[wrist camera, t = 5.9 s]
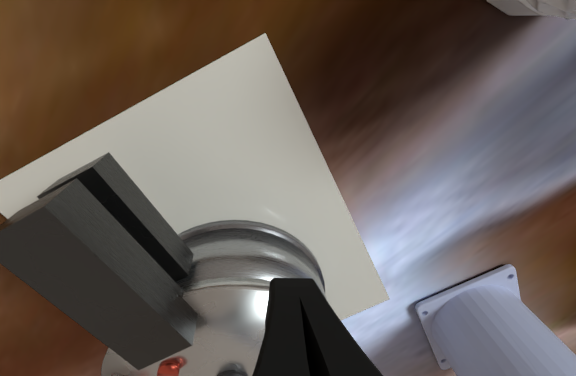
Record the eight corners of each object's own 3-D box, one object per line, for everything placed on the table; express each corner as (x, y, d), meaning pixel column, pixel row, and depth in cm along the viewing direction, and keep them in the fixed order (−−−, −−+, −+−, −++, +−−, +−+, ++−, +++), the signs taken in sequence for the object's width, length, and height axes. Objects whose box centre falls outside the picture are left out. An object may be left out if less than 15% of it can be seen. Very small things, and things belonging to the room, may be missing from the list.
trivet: (387, 294, 24) (389, 299, 24) (196, 377, 26) (195, 383, 25) (264, 33, 15) (265, 33, 15) (-16, 188, 17) (-23, 192, 16)
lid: (386, 396, 20) (402, 439, 18) (218, 465, 22) (215, 513, 19) (199, 108, 11) (188, 126, 9) (-77, 262, 12) (-145, 311, 10)
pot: (360, 335, 25) (383, 397, 21) (225, 393, 26) (221, 462, 22) (215, 86, 15) (204, 107, 11) (13, 196, 17) (-67, 253, 12)
